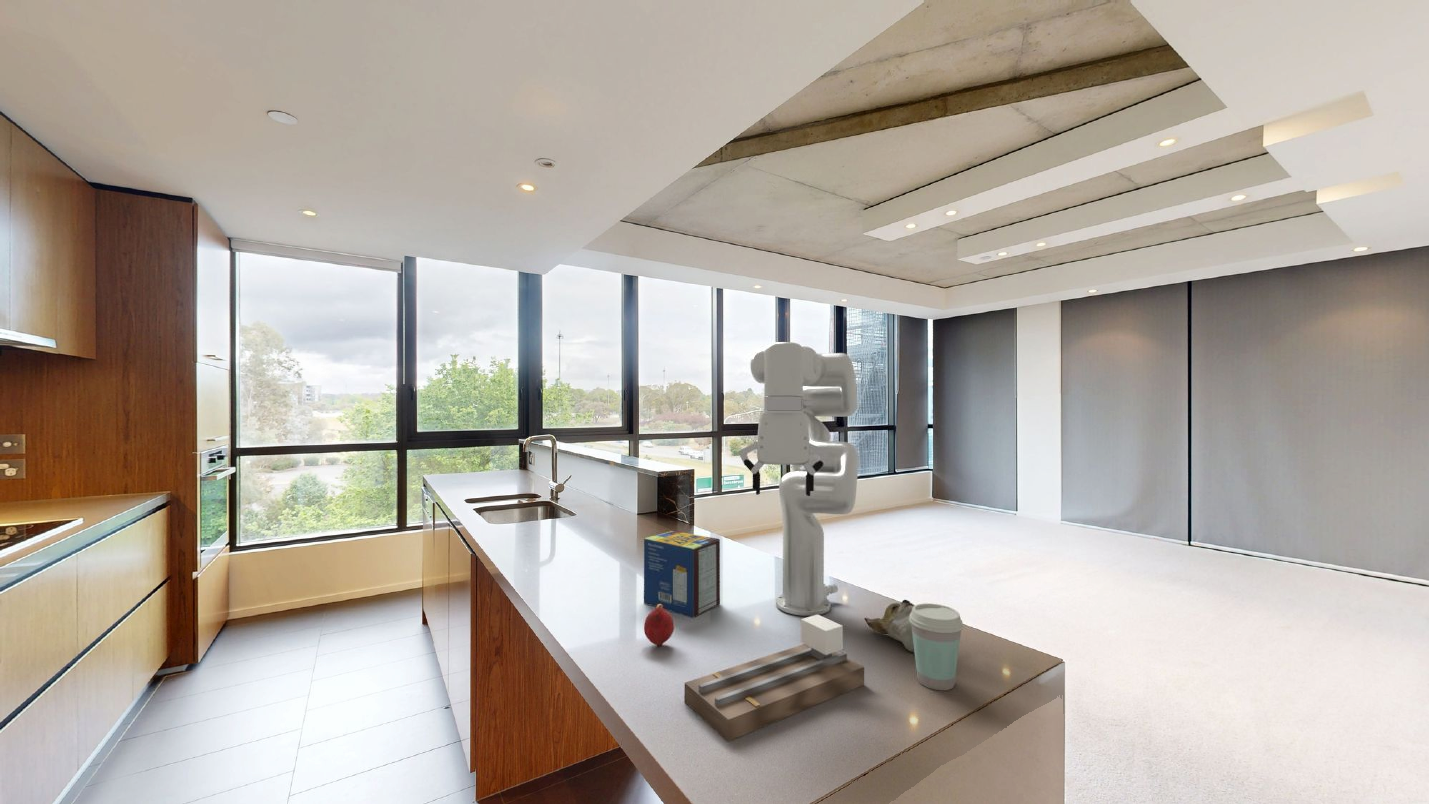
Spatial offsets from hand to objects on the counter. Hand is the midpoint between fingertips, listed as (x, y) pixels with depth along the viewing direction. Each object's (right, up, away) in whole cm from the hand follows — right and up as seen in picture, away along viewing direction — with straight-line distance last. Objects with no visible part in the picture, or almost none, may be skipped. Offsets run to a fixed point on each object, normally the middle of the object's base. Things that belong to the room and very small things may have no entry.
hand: (782, 494), depth 105 cm
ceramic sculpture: (+25, -30, +3) cm, 39 cm away
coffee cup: (+24, -30, -13) cm, 41 cm away
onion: (-24, -30, 0) cm, 38 cm away
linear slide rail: (-3, -30, -17) cm, 34 cm away
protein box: (-21, -30, +23) cm, 43 cm away
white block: (+5, -26, -11) cm, 29 cm away
